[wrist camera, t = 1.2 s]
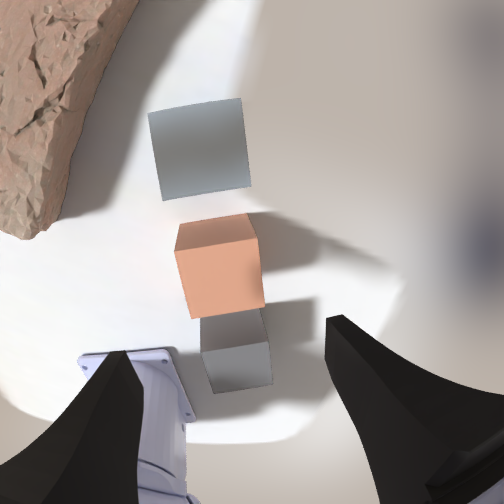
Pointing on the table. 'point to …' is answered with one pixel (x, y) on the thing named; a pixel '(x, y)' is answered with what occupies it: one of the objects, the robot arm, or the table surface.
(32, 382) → the table surface
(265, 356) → the gray block
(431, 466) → the robot arm
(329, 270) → the table surface
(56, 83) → the brick
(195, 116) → the slate block
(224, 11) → the table surface
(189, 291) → the terracotta block
